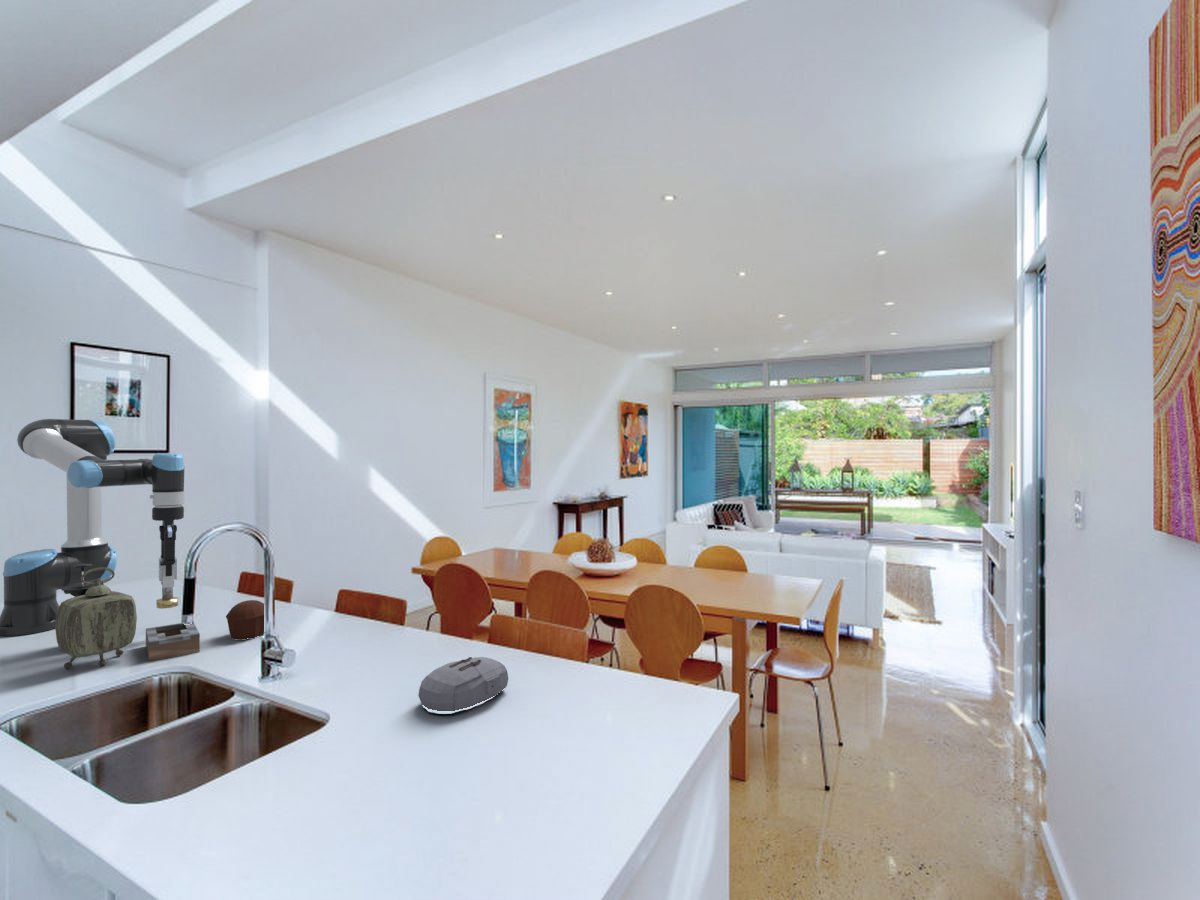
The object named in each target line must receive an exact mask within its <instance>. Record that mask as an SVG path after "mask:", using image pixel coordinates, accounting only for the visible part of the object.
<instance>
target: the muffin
mask: <svg viewBox="0 0 1200 900" xmlns="http://www.w3.org/2000/svg"><path fill="white" fill-rule="evenodd" d="M264 604H265V603H263V602H262V601H259V600H258V599H257V600H256V599H249V600H243V601H240V602H238V603H237V604H235V605H234V606H233V607H231V609H230V610H229V611H228V613H227V614H226V615H225V618H226V620H227V621H226V622H227V625H228V631H229V636H230V639H232V638H233V640H234V639H246V640H248V639H247V638H253V639H256V638H255V637H257V636H259V637H261V636H264V634H265V633H264ZM257 638H258V637H257Z"/></svg>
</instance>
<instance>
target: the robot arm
mask: <svg viewBox="0 0 1200 900" xmlns="http://www.w3.org/2000/svg"><path fill="white" fill-rule="evenodd" d="M16 442H17V445H18V448H19V449H20V450H21V451H22V452H23V453H24V454H26V455H27V456H29V457H31V458H32V459H33V458H34V459H38V460H44V461H46V462H48V463H49V464H51V465H53V466H55V467H56V468H58V469H60V470H62V471H63V472H65V473H66V527H67V528H66V531H67V532H66V533H67V534H66V537H67V539H66V541H64V543H63V544H61V546H60V552H57V550H56V549H53V548H47V549H46V548H45V549H40V550H39V549H38V550H32V551H31V550H30V551H27V552H23V553H19V554H18V553H17V554H15V555H11V557H8V558H7V559H6V560H5V561H4V563H3V564H4V565H3V572H2V575H3V609H2V611H1V613H0V637H12V636H13V637H14V636H24V635H25V636H26V635H30V634H32V635H33V634H37V633H43V632H45V631H46V632H47V631H50V630H53V629H55V627H56V616H57V611H58V608H59V606H60V604H59V603H58V601H57V591H59V590H61V588H63V587H66V586H70V585H75V584H81V583H82V581H81V577H82V572H81V568H74V567H73V566H75V565H79V564H92V566H88V567H85V571H84V573H85V572H86V571H88V570H90V569H94V568H100V567H106V568H110V569H112V570H113V571H114V572H115V571H116V568H117V565H118V563H117V562H118V555H117V553H116V552H117V551H116V549H115V548H114V547H112V546H111V545H110V546H109V541H108V540H106V539H105V538H103V525H102V524H103V523H102V522H103V519H102V518H103V516H102V515H103V514H102V511H103V508H102V507H103V506H102V488H103V487H104V488H105V487H106V488H107V487H119V486H120V487H121V486H122V487H123V486H124V487H125V486H140V485H145V486H146V485H150V486H151V485H152V487H151V488H152V490H151V491H152V494H151V495H149V499H151V500H152V506H154V507H152V509H151V519H152V520H153V521H158V522H160V521H162V525H159V527H158V531H159V538H160V540H161V541H160V558H163V559H164V562H163V563H162V564H160V566H163V586H161V588H162V587H163V588H166V587H173V588H174V587H175V580H174V563H175V557H176V540H177V531H178V526H177V525H176V524H175V522H174V521H178V520H182V519H183V518H185V517H184V516H185V507H184V506H183V505H184V504H185V490H184V489H185V468H186V466H185V460H184V459H185V458H184V455H183V454H181V453H154V454H153V456H152V459H149V458H139V459H108V458H107V457H109V456H110V455H112V454H114V451H115V448H116V437H115V434H114V431H113V429H112V428H111V427H110V425H109V424H108V423H106V422H105V421H102V420H93V419H65V418H63V419H62V418H61V419H59V418H57V419H56V418H44V419H43V418H42V419H38V420H34V421H32V422H30V423H28V424H26V425H25V426H24V427H23V428H21V429H20V431H19V432H18V434H17V438H16ZM170 559H171V560H170ZM110 577H112V572H110V571H108V570H97V571H93V572H90V573H88V574H86V575H85V576H84V581H86V582H95V580H96V579H98V578H99V579H101V581H104V580H106V579H109V578H110ZM160 584H161V585H162V581H160Z"/></svg>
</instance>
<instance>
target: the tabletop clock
mask: <svg viewBox="0 0 1200 900" xmlns="http://www.w3.org/2000/svg"><path fill="white" fill-rule="evenodd" d="M97 570H108V571H110V572H112V576H111V577H110V578H109V579H106V580H104V581H101V579H99V578H98V579H96V580H95V582H86V581H84V580H83V577H84V576H85V575H86V574H88V573H90V572H93V571H97ZM115 575H116V573H115V571H113V570H112V569H110V568H106V567H100V568H94V569H90V570H88V571H86V572H85V573H84V574H83V575H82V577H81V581H82V582H83V583H84V584H88V585H95V586H92V587H90V588H89V589H88V590H87V591H86V593H85V595H82V596H77V597H74V596H73V597H70V598H68V599H66V600H63V601H61V602H60V604H59V608H58V611H57V616H56V627H55V628H54V629H55V636H56V637H55V638H56V642H57V647H58V648H59V650H60V651H61V652H63V653H64V654H67V655H69V656H71V658H70V660H69V661H67V662H65V663H64V664H63V668H64V669H67V670H68V669H70V668H71V667H73V662H74V661H75V659H76V658H84V657H91V656H96V655H98V656H99V659H100V660H99V661H98V662H97V665H98V666H99V667H104V666H106V664H107V660H106V659H104V654H106V653H109V652H111V651H115V656H117V657H120V656H122V655H123V654H124V650H123V649H121V648H124V647H127V646H128V645H130V644H132V643H133V640H134V638H135V635H136V630H137V621H138V617H137V607H136V603H135V602H136V601H135V599H134V597H133V596H132V595H130V594H126V593H123V592H119V591H115V590H114V591H113V590H111V588H110V587H109V586H107V585H105V583H108V582H109V581H111V580H112V579H113V578H114V577H115ZM102 583H103V584H104V585H101V584H102Z"/></svg>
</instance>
